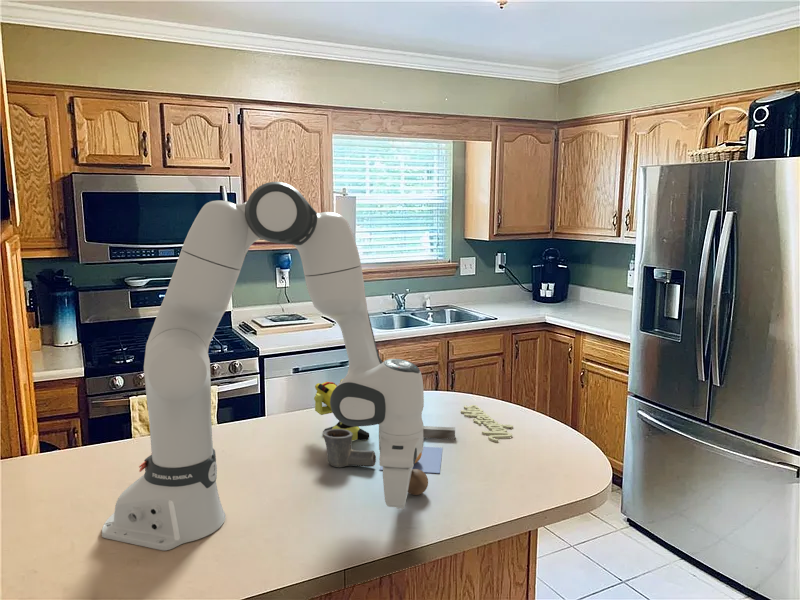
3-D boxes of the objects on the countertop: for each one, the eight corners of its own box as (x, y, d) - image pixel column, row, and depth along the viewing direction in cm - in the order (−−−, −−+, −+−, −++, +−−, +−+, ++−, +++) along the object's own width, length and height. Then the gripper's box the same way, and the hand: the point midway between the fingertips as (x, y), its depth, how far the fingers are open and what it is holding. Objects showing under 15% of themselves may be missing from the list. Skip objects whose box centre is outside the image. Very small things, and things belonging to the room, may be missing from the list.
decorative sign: (527, 436, 160) (492, 441, 157) (526, 440, 160) (492, 444, 157) (484, 403, 185) (453, 406, 182) (484, 406, 185) (453, 409, 182)
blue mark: (379, 470, 141) (379, 469, 141) (387, 445, 155) (387, 444, 155) (439, 473, 140) (439, 472, 140) (442, 448, 154) (442, 447, 154)
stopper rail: (379, 435, 161) (379, 426, 161) (380, 432, 163) (380, 423, 163) (454, 439, 159) (455, 430, 159) (455, 436, 161) (455, 427, 161)
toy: (358, 419, 173) (357, 368, 170) (382, 436, 161) (382, 382, 158) (302, 431, 164) (301, 378, 161) (324, 450, 152) (323, 393, 150)
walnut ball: (410, 465, 134) (398, 487, 132) (411, 462, 129) (398, 485, 127) (432, 478, 133) (420, 501, 131) (433, 475, 128) (420, 499, 126)
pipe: (371, 474, 140) (371, 441, 138) (318, 468, 143) (318, 436, 141) (378, 462, 146) (377, 431, 144) (327, 457, 148) (326, 426, 147)
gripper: (391, 420, 131) (391, 480, 133) (377, 462, 111) (378, 531, 113) (421, 421, 130) (420, 481, 133) (412, 463, 110) (411, 533, 113)
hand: (400, 505), depth 123 cm, fingers closed
